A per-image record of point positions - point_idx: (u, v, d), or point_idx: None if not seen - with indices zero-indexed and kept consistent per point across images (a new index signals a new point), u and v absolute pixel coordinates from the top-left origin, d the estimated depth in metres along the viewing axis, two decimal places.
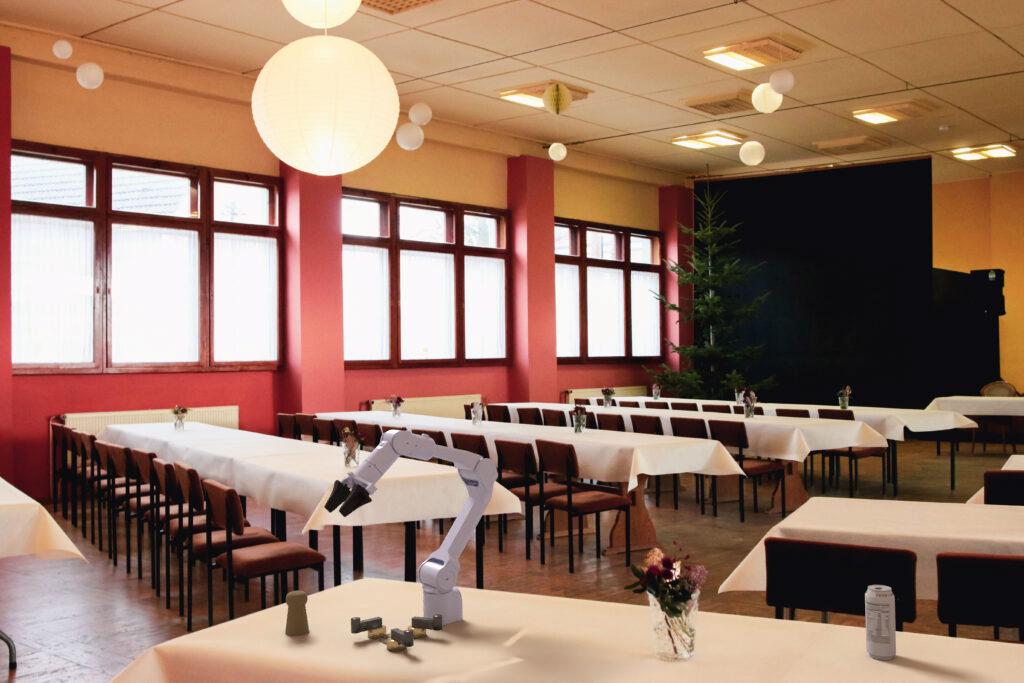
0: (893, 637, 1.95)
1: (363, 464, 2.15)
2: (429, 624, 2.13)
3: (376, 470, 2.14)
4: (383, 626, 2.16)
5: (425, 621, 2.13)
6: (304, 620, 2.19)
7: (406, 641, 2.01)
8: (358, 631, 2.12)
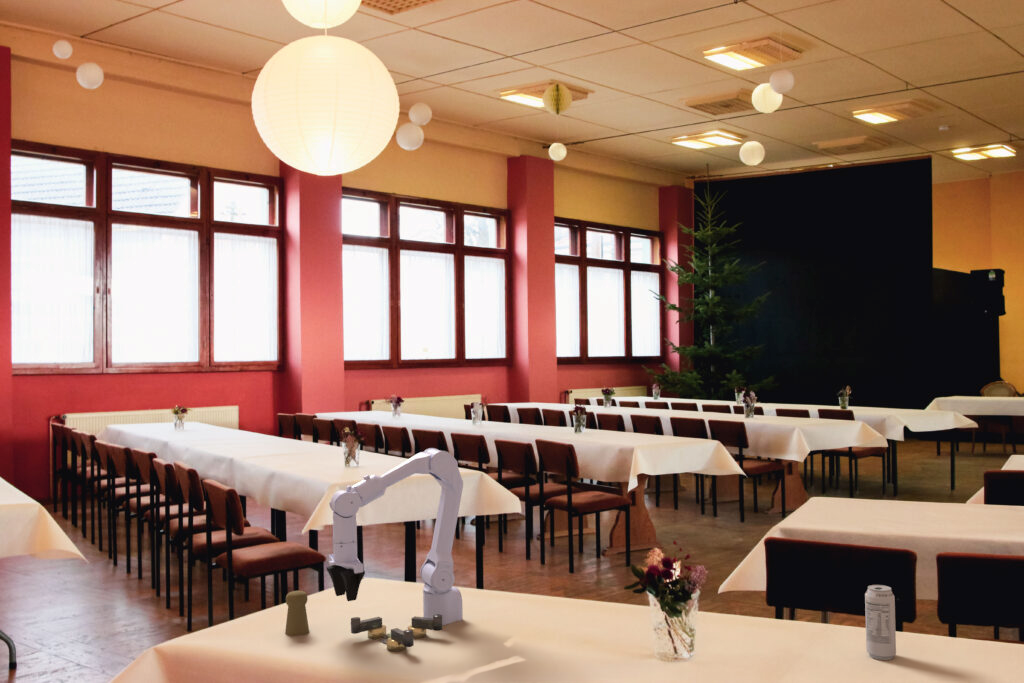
0: (893, 637, 1.95)
1: (335, 547, 2.16)
2: (429, 624, 2.13)
3: (349, 544, 2.15)
4: (383, 626, 2.16)
5: (425, 621, 2.13)
6: (304, 620, 2.19)
7: (406, 641, 2.01)
8: (358, 631, 2.12)
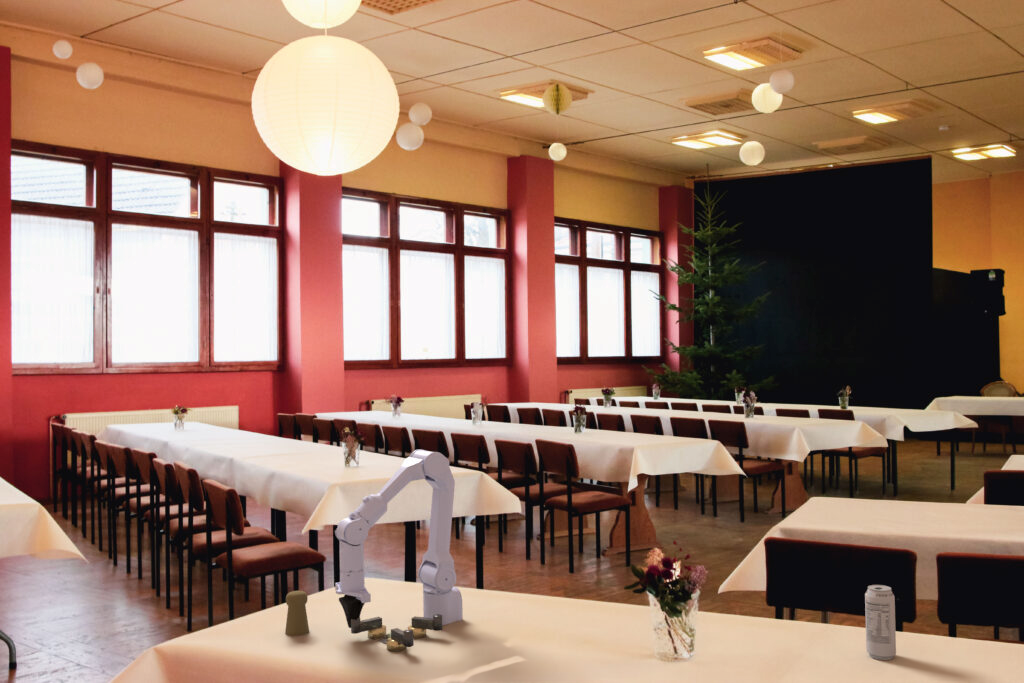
0: (893, 637, 1.95)
1: (342, 576, 2.12)
2: (429, 624, 2.13)
3: (356, 573, 2.12)
4: (383, 626, 2.16)
5: (425, 621, 2.13)
6: (304, 620, 2.19)
7: (406, 641, 2.01)
8: (358, 631, 2.12)
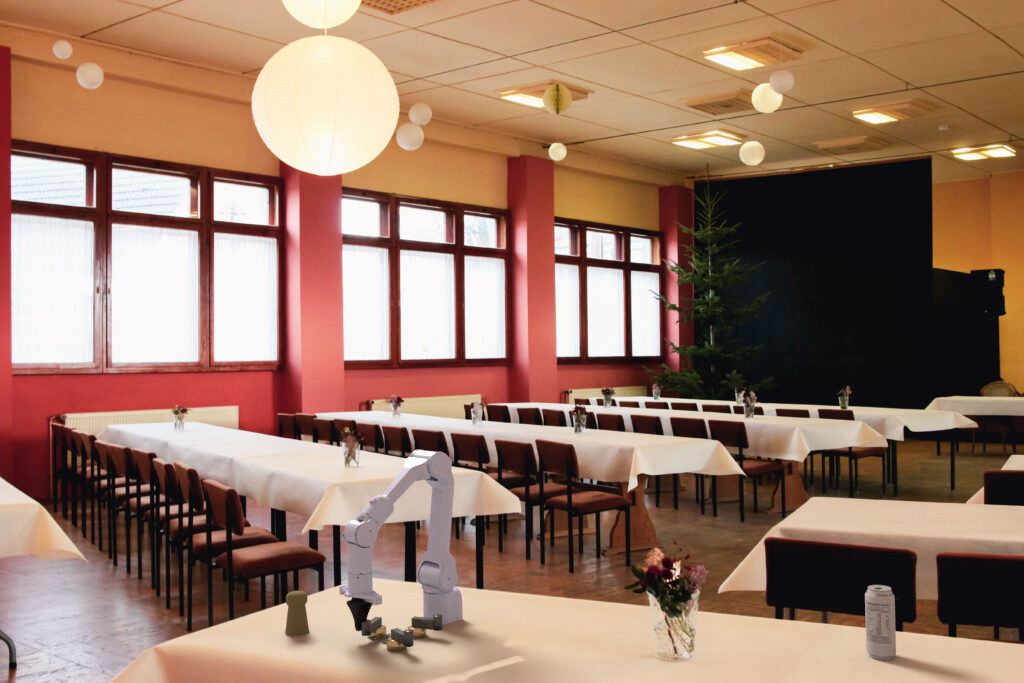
0: (893, 637, 1.95)
1: (351, 578, 2.09)
2: (429, 624, 2.13)
3: (366, 575, 2.09)
4: None
5: (425, 621, 2.13)
6: (304, 620, 2.19)
7: (406, 641, 2.01)
8: (370, 633, 2.10)
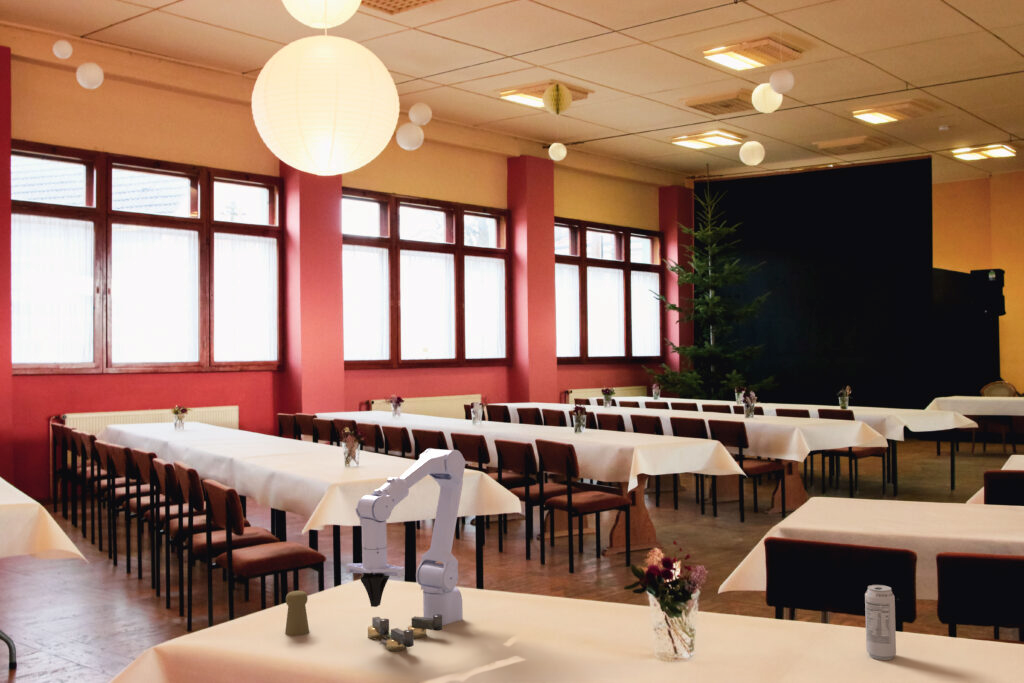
0: (893, 637, 1.95)
1: (370, 554, 2.08)
2: (429, 624, 2.13)
3: (384, 549, 2.09)
4: None
5: (425, 621, 2.13)
6: (304, 620, 2.19)
7: (406, 641, 2.01)
8: None
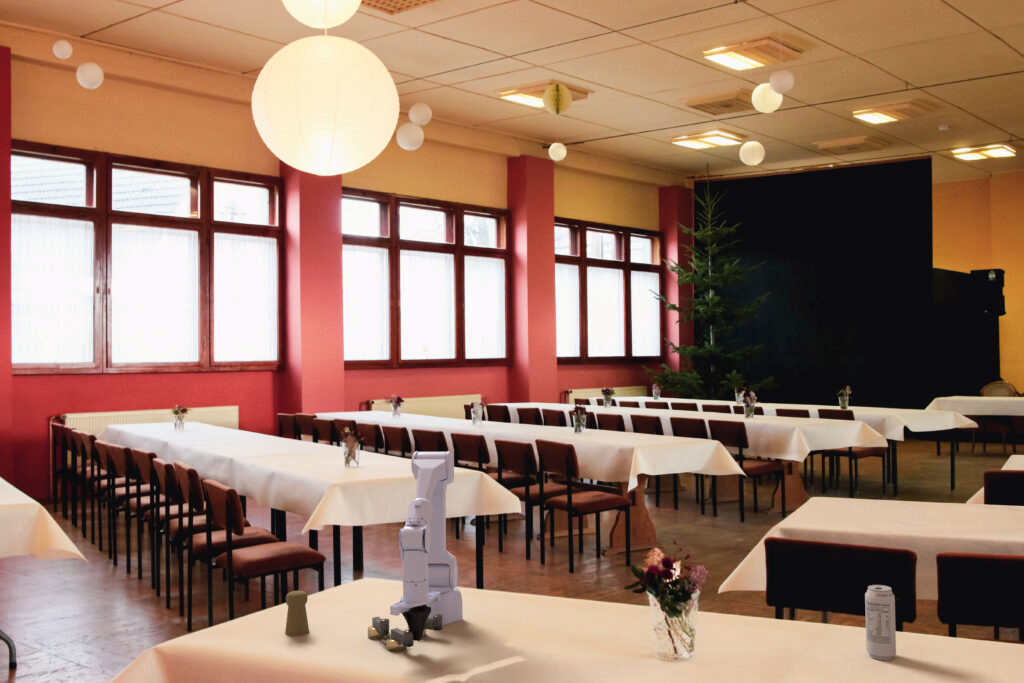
0: (893, 637, 1.95)
1: None
2: (429, 624, 2.13)
3: (405, 583, 2.02)
4: None
5: None
6: (304, 620, 2.19)
7: (406, 641, 2.01)
8: None
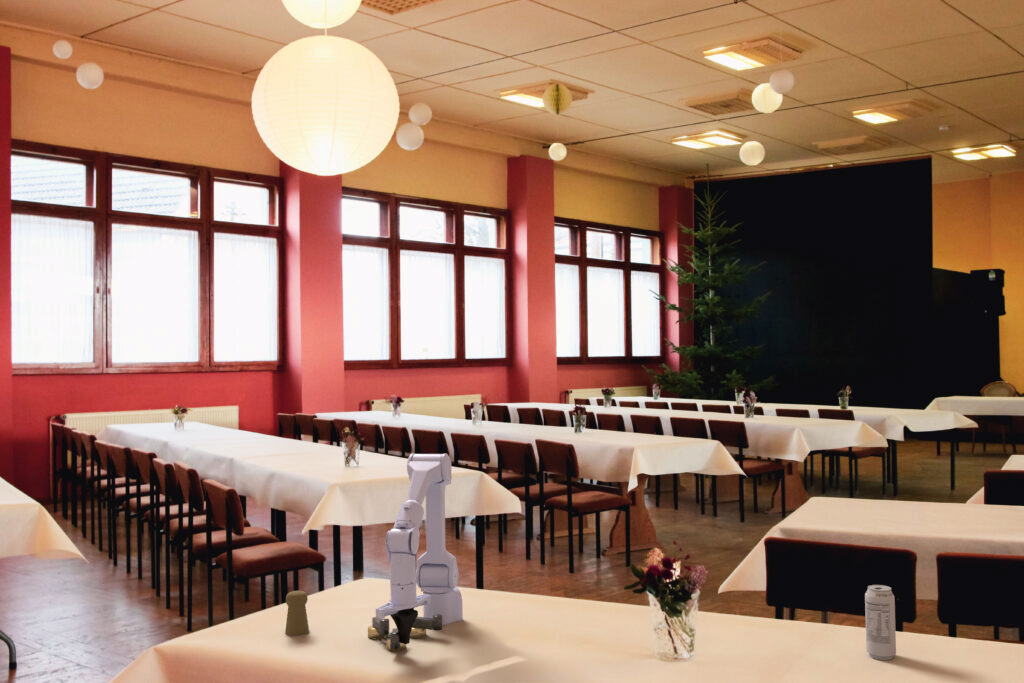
0: (893, 637, 1.95)
1: None
2: (429, 624, 2.13)
3: (392, 586, 2.00)
4: None
5: (425, 621, 2.13)
6: (304, 620, 2.19)
7: (391, 642, 2.00)
8: None
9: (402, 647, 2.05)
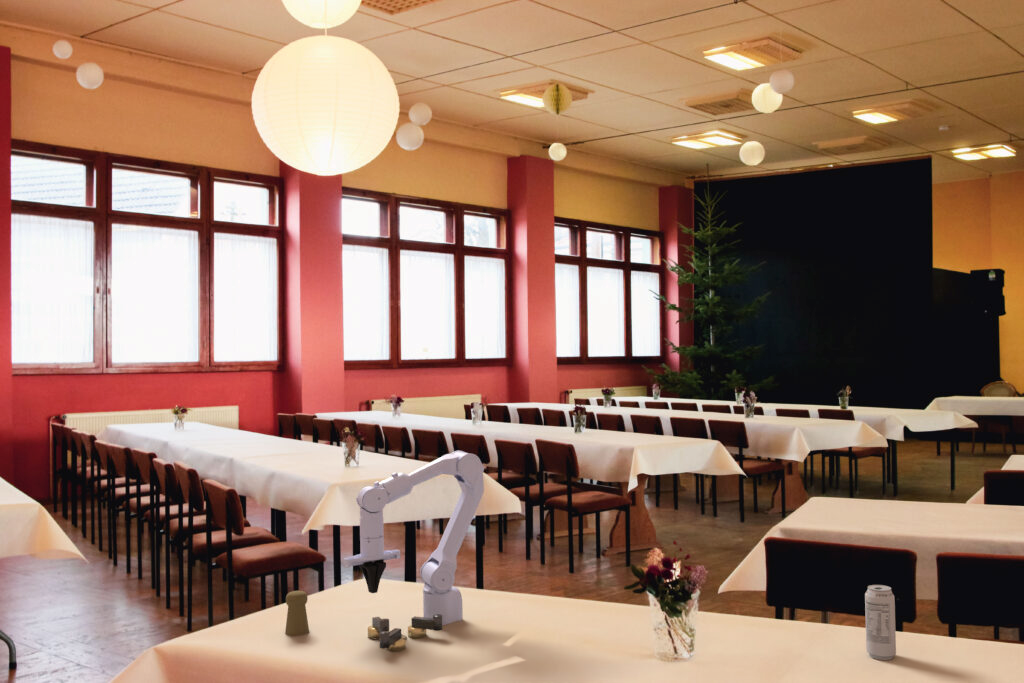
0: (893, 637, 1.95)
1: None
2: (429, 624, 2.13)
3: (361, 539, 2.19)
4: None
5: (425, 621, 2.13)
6: (304, 620, 2.19)
7: None
8: None
9: (398, 648, 2.04)
